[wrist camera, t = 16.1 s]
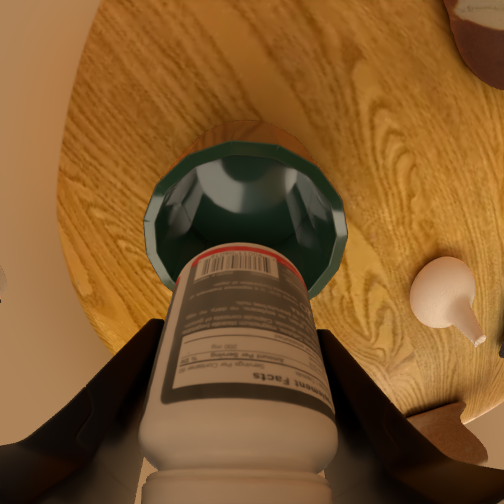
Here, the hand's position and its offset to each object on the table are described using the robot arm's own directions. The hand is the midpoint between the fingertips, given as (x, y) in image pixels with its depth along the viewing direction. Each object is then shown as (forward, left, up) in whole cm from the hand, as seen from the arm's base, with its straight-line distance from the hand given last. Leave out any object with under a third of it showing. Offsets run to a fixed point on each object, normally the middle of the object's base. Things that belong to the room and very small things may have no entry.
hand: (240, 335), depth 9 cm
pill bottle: (0, 0, -2) cm, 2 cm away
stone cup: (+32, -33, -12) cm, 47 cm away
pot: (0, 0, -12) cm, 12 cm away
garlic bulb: (+17, -6, -12) cm, 21 cm away
